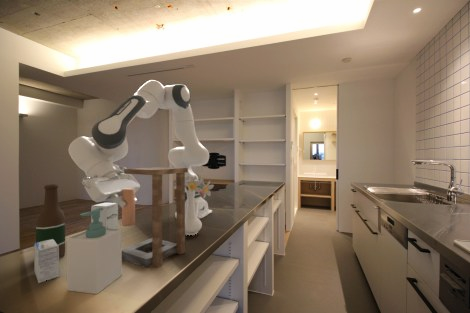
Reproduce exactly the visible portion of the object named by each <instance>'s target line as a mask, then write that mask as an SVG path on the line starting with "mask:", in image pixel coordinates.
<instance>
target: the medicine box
mask: <svg viewBox="0 0 470 313" xmlns="http://www.w3.org/2000/svg"><path fill="white" fill-rule="evenodd" d="M33 249H34V250H33V254H34V256H33V257H34V258H33V259H34V262H33V263H34V266H33V267H34V268H33V269H34V275H35V277H36V279H37V284H40V283H44V282H47V281H50V280H54V279H55V278H59V277H60V259H59V246H58V245H57V243H56V242H55V241H54V239H51V240H46V241H42V242H38V243H36V242H35V243H34V248H33ZM46 280H47V281H46Z"/></svg>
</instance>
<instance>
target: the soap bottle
mask: <svg viewBox="0 0 470 313" xmlns="http://www.w3.org/2000/svg"><path fill="white" fill-rule="evenodd" d="M102 210H103V208H98V209H96V210H93V211H91V210H90V211H87V212H83V213H80V214H79V217H86V216H90V217H91V216H92V219H93V223H91V222H90V223H89V225H88V226H89V228H87V229H85V231H83V232H81V233H77V234H75V235H73V236H70V237H68V238H67V239H66V265H67V266H66V291H70V292H77V293H83V294H86V293H87V294H93V295H99V293H101V291H103V290H104V289H106V288H107V287H108V286H110V285H111V284H112V283H114V282H115V281H116V280H118V279H119V278H120V277H121V276H122V275H123V274H122V273H123V272H122V267H123V266H122V263H123V259H122V250H123V249H122V248H123V247H122V245H123V244H122V240H123V239H122V232H123V230H122V228H118V229H111V228H106V227H105V226H103V223H102V222H99V218H100V211H102Z"/></svg>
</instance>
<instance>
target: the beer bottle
mask: <svg viewBox="0 0 470 313" xmlns="http://www.w3.org/2000/svg"><path fill="white" fill-rule="evenodd" d="M58 188H59V185H58V184H57V183H50V184H45V185H44V188H43V189H44V190H45V191H44V200H43V201H44V203H43V209H42V211H41V212H40V213H39V214H38V217H37V219H36V223H35V224H36V225H35V243H38V242H42V241H46V240H51V239H54V241H55V242H56V243H57V245H58V246H59V260H60V259H61V258H63V257H65V256H66V217H65V216H66V215H65V213H64V211H63V210H62V209H61V208H60V205H59V195H58Z"/></svg>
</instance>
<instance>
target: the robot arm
mask: <svg viewBox="0 0 470 313" xmlns="http://www.w3.org/2000/svg"><path fill="white" fill-rule="evenodd" d="M190 102H191V91H190V90H189V88H188V87H187V86H186V85H185V84H181V83H179V84H178V83H176V84H171V85H165V86H164V85H163V84H162V83H161V82H160V81H158V80H155V79H150V80H147V81H146V82H145V83H143V85H141V86H140V87H139V88H138V89H137V90H136V91H135V93H134V94H133V95H130V96H129V97H127V99H125V100H124V101H123V102H122V103H121V104H120V105H119V106H118V107H117V108H116V109H114V111H113V112H112V113H110V114H109V115H108V116H106V117H104V118H102V119H100V120H98V121H97V122H95V123H94V125H93V126H92V128H91V136H92V137H87V136H79V137H76V138H75V139H74V140H72V142H70V144H69V146H68V154H69V156H70V157H71V159H72V161H73V162H74V164H76V166H77V167H78V168H79V169H80V170H82V171H83V173H85V176H84V177H83V178H82V179H81V184H82V185H84V190H85V191H86V194H88V196H89V197H90V198H91V200H92V201H94V202H95V203H100V202H101V203H103V202H106V201H109V200H110V201H112V203H117V204H118V206H120V208H122V207H125V206H126V205H127V204H128V203H127V202H126V200H122V189H131V188H132V189H135V194H136V193H137V192H138V191H139V190H140V189H141V184H140V183H139V181H137V179H136V177H135V176H133V174H124V169H128V168H127V167H126V166H121V165H118V164H116V163H117V162H119V161H121V160H122V159H124V158H125V157H126V156H127V155H128V153H129V142H128V139H127V129H128V125H129V124H131V122H132V121H133V120H134V119H135V118H136V117H137V118H140V119H150V118H151V117H153V116H154V115H155V114H156V113H157V111H158V110H159V111H162V110H171V111H172V112H171V113H172V124H173V131H174V135H175V138H176V139H178V141H180V142H181V143H182V145H183V146H177V147H173V148H171V149H170V150H169V151H168V153H167V159H168V162H169V163H170V164H171V165H172V167H173V168H188V172H185V178H186V177H187V176H190V177H193V178H194V176H196V177H197V181H198V180H199V177H198V175H197V173H195V172H194V171H193V169H192V167H200V166H204V165H206V164H208V162H209V159H210V153H209V150H208V149H207V147H205V146H203V144H202V143H201V142H200V139H199V138H198V136H197V132H196V126H195V119H194V114H193V110H192V106H191V104H190ZM189 180H190V179H189ZM188 188H189V187H188ZM186 189H187V188H186V187H185V216H186V213H187V193H186ZM201 195H204V191H203V190H201V189H200V192H196V191H195V197H194V204H195V213H196V216H197V218H198V219H199V220H200V219H203V218H204V217H207V216H209V214H212V213H213V210H212V209H209V204H208V202H207V200H205V198H203V197H202V196H201ZM137 202H138V198H137V197H135V204H136V203H137ZM174 214H175V217H174V218H176V212H175V213H174Z"/></svg>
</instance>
